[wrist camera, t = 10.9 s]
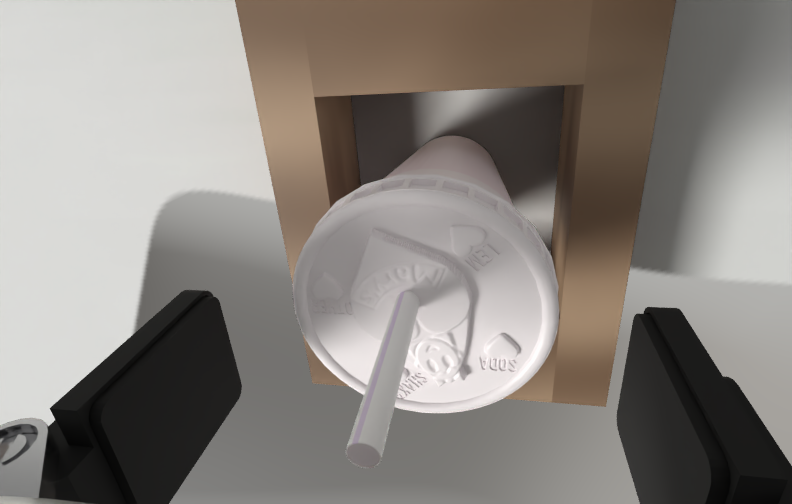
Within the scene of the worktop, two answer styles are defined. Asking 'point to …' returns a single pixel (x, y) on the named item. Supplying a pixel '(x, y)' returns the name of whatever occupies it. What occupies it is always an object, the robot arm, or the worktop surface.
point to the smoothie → (427, 291)
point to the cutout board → (467, 70)
